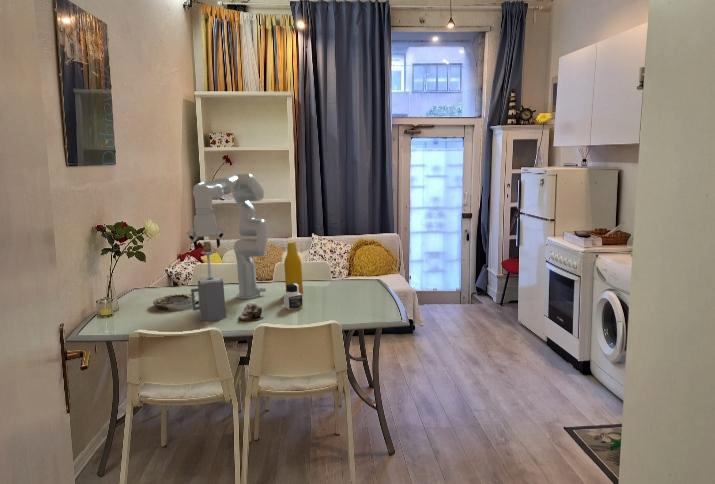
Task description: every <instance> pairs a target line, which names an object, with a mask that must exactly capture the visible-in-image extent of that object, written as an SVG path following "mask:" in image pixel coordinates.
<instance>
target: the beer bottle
mask: <svg viewBox="0 0 715 484" xmlns="http://www.w3.org/2000/svg"><path fill="white" fill-rule="evenodd" d="M286 247H287V248H286V249H287V250H286V251H287V252H286V256H285V259H284V262H283V263H284V265H283V266H284V277H285V278H284V279H285V283H284V284H285V287H286V286H287V285H288V284H292V283H295V284H298V285H299V293H300V294H302V295H303V294H304V287H303V285H304V284H303V267H302V260H301V257H300V255H299V253H298V249H297V242H296V241H288V242H287V246H286ZM285 293H287V290H286V289H285Z"/></svg>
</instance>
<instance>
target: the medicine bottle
mask: <svg viewBox="0 0 715 484" xmlns="http://www.w3.org/2000/svg"><path fill="white" fill-rule="evenodd" d="M286 290H287V293H286V292H285V293H283V299H284V300H283V301H284V308H286V309H287V310H289V311H293V310H299V309H303V307H304V306H303V294H300V293H299V285H298V284H295V283H292V284H288V285H287V286H286V285H285V291H286Z"/></svg>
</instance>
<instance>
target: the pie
mask: <svg viewBox="0 0 715 484" xmlns="http://www.w3.org/2000/svg"><path fill="white" fill-rule="evenodd" d="M194 298H195V304H196V303H197V302H198V303H197V305H198V306H200V305H199V296H196V295H194ZM152 303H153V306H156V308H157V309H158V310H160V311H165V312H171V311H172V312H173V311H176V312H178V311H179V312H180V311H182V310H183V311H184V312H186V311H187V310H188V309H189V310H191V309H192V308H193V306H192V295H191V293H187V294H185V293H182V294H180V293H179V294H177V293H175V294H168V295H165V296H162V297H159V298H156V299H154V300H153V302H152ZM189 307H190V308H189Z"/></svg>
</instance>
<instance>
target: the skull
mask: <svg viewBox="0 0 715 484" xmlns="http://www.w3.org/2000/svg"><path fill="white" fill-rule="evenodd" d="M262 313H263V307H262V305H261V304H259V303H258V302H255V301H250V302H248V303H247V304H246V306H244V308H243V311H242V312H241V315H239V316H238V320H241V321H246V322H247V321H249V322H253V321H260V320H263V319H264V317H263V316H262Z"/></svg>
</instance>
